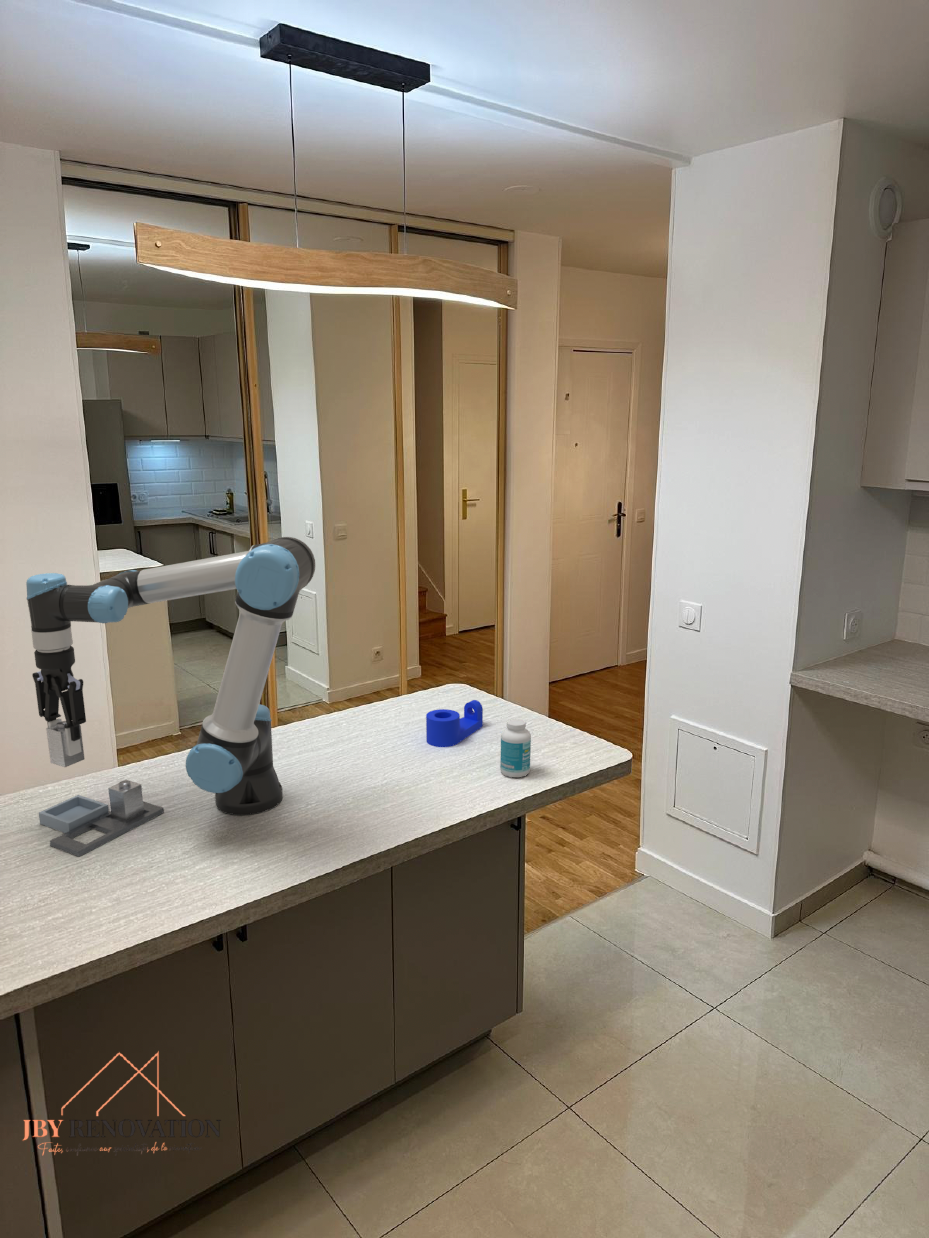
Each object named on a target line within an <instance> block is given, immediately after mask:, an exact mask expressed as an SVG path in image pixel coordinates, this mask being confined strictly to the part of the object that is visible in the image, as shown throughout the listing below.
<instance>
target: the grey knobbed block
mask: <svg viewBox="0 0 929 1238" xmlns="http://www.w3.org/2000/svg"><path fill="white" fill-rule="evenodd" d="M107 790H108V799H109V806H110V811H111V817H112V819H113V820H116V821H119V822H122V823H125V824H126V823H128V822H130V821H132V820H134V819H136V818H138V817H140V816H142V815H144V806H143V801H144V799H143V798H144V797H143V796H144V795H143V788H142V784H141V783H138V782H135V781H131V780H129V779H125V780H121V781H119V782H118V783H116V784H113V785H112V786H110V787H107Z"/></svg>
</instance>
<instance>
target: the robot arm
mask: <svg viewBox="0 0 929 1238" xmlns="http://www.w3.org/2000/svg"><path fill="white" fill-rule="evenodd" d="M315 572H316V559H315V556H314V553H313V551H312V549H311V548H310V547H309V546H308V544H306V543H305V542H304V541H303V540H300V539H298V538H296V537H293V536H292V537H291V536H282V537H277V538H275V539H273V540H271V541H267V542H262V543H259V544H253V545H252V546H251V547H250V549H249V550H245V551H241V552H234V553H229V554H224V555H219V556H213V557H212V556H211V557H206V558H202V559H196V560H191V561H185V562H179V563H174V564H169V565H168V564H167V565H163V566H158V567H150V568H147V569H142V570H135V569H131V570H125V571H122V572H120V573H118V574H116V575H113V576H112V577H109V578H106V579H103V580H101V581H98V582H96V583H94V584H89V585H87V584H86V585H77V584H76V585H75V584H68V581H67V578H66V576H65V575H64V574H62V573H57V572H52V573H51V572H47V573H39V574H34V575H32V576H30V577H28V579H27V580H26V582H25V583H26V584H25V585H26V600H27V604H28V605H27V607H28V612H29V619H30V625H31V626H30V627H31V629H30V631H31V639H32V640H31V641H32V647H33V649H34V653H33V654H34V661H35V667H36V668H37V669H39V670H40V671H36V672H33V673H32V674H31V675H32V679H33V681H34V682H33V683H34V686H35V693H36V694H35V695H36V702H37V709H38V714H39V718H44V720H45V721H46V722H47V728H48V727H51V726H54V725H56V724H57V723H58V722H61V721H63V720H62V718H60V717H62V715H61V714H60V713H59V710H60V709H59V708H60V707H59V706H60V705H61V707H62V711H63V714H64V717H65V721H66V722H67V725H66V726H64V727H65V734H66V742H67V750H68V756H72V755H75V754H77V753H80V752H81V744H80V729H79V725H82V724H85V723H86V722H87V718H86V709H85V699H84V692H83V691H84V690H83V689H84V680H83V679H82V678H79V679H77V678H75V677H74V673H73V670H72V666H73V665H75V663H76V655H75V647H73V646H72V645H73V643H74V642H73V641H74V640H73V632H72V622H78V623H79V622H81V623H98V624H109V623H119V622H122V620H123V619H124V618H125V615H127V612H128V609H131V608H133V607H138V606H139V607H140V606H144V605H149V604H154V603H160V602H166V601H173V600H177V599H183V598H188V597H195V596H196V597H197V596H201V595H206V594H207V595H209V594H213V593H219V592H225V591H231V590H237V592H236V595H235V601H234V603H235V605H236V607H237V609H238V610H239V616H238V619H237V623H236V626H235V631H234V634H233V637H232V642H231V645H230V648H229V652H228V656H227V659H226V663H225V667H224V670H223V674H222V678H221V680H220V681H221V682H220V684H219V689H218V693H217V696H216V701H215V704H214V708H213V711H212V714H209V715H207V716H205V718H204V719H203V721H202V723H201V726H200V731H199V734H198V738H197V741H196V744H195V745H194V746H193V747H191V749H189V752H188V754H187V756H186V759H185V769H186V773H187V776H188V777H189V778H190V780H191V781H192V783H193V785H195V786H196V787H198V788H199V789H201V790H203V791H205V792H208V793H213V794H214V798H215V799H214V800H215V806H216V808H217V809H218V810H219V811H220V812H222V813H225V814H229V815H232V816H235V815H236V816H249V815H255V814H260V813H265V812H266V811H269V810H272V809H273V808H275V807H277V806H278V805H280V804H281V803H282V800H283V797H284V796H283V795H284V794H283V786H282V784H281V782H280V780H279V777H278V775H277V772H276V770H275V767H274V757H273V756H274V755H273V738H272V737H273V735H272V720H273V719H272V718H271V711H270V709H269V708H268V707H267V706H266V705H264V704H260V703H261V699H262V696H263V692H264V688H265V685H266V681H267V678H268V674H269V672H270V667H271V664H272V660H273V658H274V653H275V650H276V647H277V643H278V640H279V636H280V632H281V629H282V625H283V624H284V622H286V621H288V620H290V619H292V617H293V615H294V612H295V607H296V606H297V605H296V604H297V602H298V601H297V600H298V597H299V595H300V592H301V590H303V589H304V588H305V587H306V586H308V584H309V583H310V582H311V580H312V579H313V577H314V574H315Z"/></svg>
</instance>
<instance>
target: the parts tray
mask: <svg viewBox="0 0 929 1238" xmlns="http://www.w3.org/2000/svg"><path fill="white" fill-rule="evenodd" d="M108 812H110V809H109V804H108V803H104V802H101V801H98V800H95V799H92V798H90V797H86V796H83V795H80V794H77V795H75V796H73V797H70V798H68V799H66V800H63V801H61V802H59V803H57V804H54V805H53V806H50V807H47V808H46V809H44V810H41V811H39V812H38V820H39V825H42V826H45V827H47V828H50V829H53V830H55V831H59V832H61V833H63V834H64V833H67V832H69V831H71V830H73V829H75V828H77V827H79V826H81V825H83V824H85V823H87V822H89V821H91V820H93V819H95V818H97V817H100V816H102V815H104V814H106V813H108Z"/></svg>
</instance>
